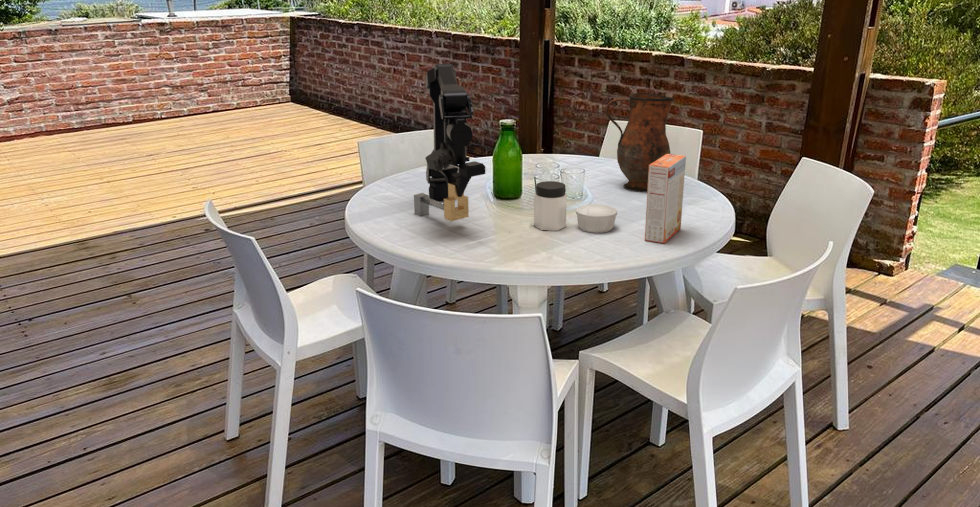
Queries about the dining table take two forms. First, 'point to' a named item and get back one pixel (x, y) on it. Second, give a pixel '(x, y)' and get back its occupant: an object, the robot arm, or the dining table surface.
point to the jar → (550, 206)
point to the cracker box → (664, 198)
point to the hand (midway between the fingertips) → (456, 195)
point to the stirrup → (449, 204)
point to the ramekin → (596, 218)
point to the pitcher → (642, 137)
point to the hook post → (425, 204)
